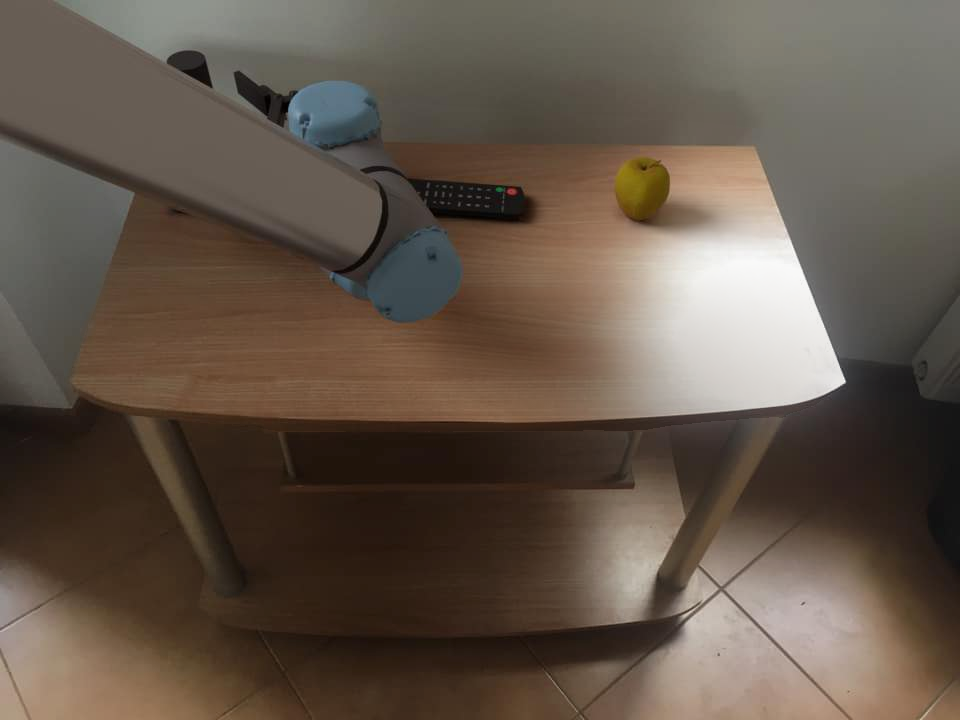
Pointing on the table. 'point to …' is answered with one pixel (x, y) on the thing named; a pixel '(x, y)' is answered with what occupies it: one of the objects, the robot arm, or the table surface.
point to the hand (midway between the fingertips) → (186, 102)
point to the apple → (641, 187)
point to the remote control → (471, 198)
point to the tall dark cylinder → (191, 65)
